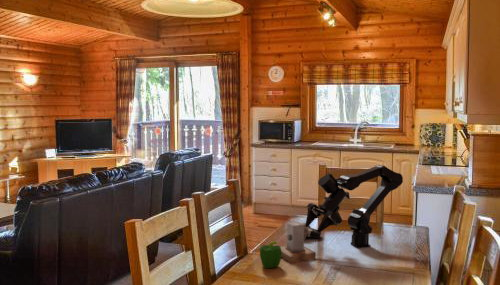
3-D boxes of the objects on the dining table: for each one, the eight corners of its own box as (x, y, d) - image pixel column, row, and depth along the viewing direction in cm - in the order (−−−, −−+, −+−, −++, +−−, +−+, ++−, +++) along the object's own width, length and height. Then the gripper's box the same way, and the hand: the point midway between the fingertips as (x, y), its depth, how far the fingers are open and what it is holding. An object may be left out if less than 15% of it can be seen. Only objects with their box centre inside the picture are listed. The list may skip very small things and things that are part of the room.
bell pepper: (255, 267, 188) (255, 242, 187) (266, 261, 195) (266, 236, 194) (273, 272, 184) (274, 246, 182) (285, 265, 190) (285, 240, 189)
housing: (297, 246, 205) (298, 221, 204) (305, 251, 199) (305, 224, 198) (285, 248, 202) (285, 222, 201) (292, 253, 197) (292, 226, 196)
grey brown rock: (320, 241, 230) (313, 244, 221) (299, 233, 235) (291, 235, 226) (324, 227, 229) (317, 229, 220) (302, 219, 234) (295, 221, 225)
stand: (300, 249, 209) (300, 243, 209) (315, 258, 198) (315, 252, 198) (275, 253, 204) (275, 247, 204) (289, 262, 193) (289, 256, 193)
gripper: (358, 216, 202) (336, 246, 198) (332, 207, 218) (311, 234, 215) (342, 200, 198) (319, 230, 194) (317, 191, 214) (295, 219, 211)
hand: (311, 229), depth 204 cm, fingers open, 9 cm apart
